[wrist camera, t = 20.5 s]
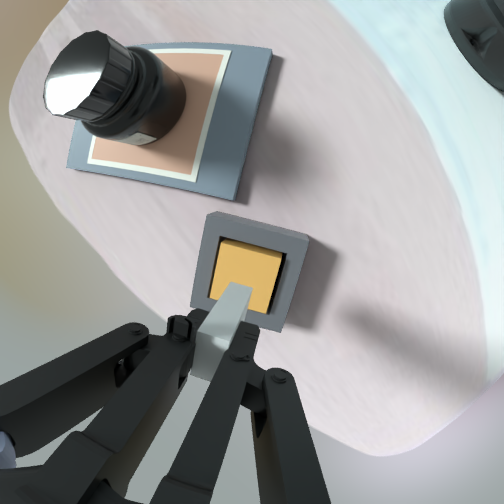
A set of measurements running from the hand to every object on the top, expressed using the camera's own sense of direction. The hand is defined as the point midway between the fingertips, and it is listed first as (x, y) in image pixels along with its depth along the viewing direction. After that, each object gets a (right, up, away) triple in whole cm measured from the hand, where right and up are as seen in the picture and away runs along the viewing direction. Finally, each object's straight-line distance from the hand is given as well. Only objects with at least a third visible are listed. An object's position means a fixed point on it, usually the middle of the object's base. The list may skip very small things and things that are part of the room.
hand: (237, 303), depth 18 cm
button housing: (+1, +2, +10) cm, 10 cm away
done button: (+1, +2, +9) cm, 10 cm away
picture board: (-9, +19, +7) cm, 22 cm away
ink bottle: (-10, +18, +6) cm, 22 cm away
